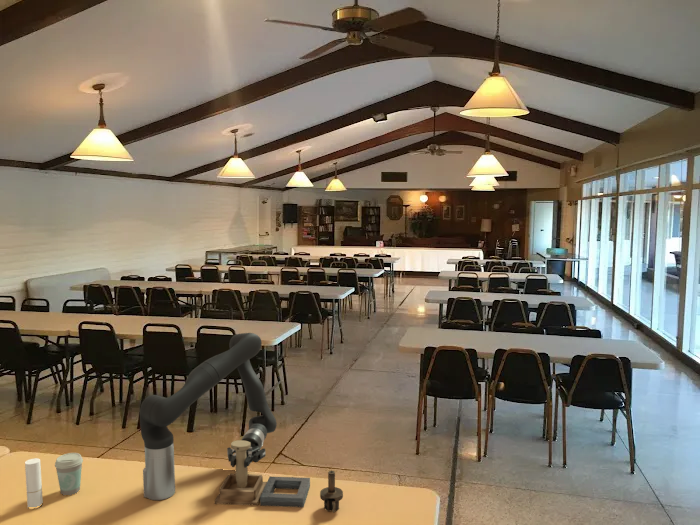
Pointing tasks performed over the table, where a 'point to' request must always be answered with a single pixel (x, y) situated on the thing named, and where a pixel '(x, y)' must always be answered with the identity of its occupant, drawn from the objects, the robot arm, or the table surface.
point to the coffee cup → (69, 472)
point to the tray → (241, 491)
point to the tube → (33, 482)
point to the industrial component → (331, 494)
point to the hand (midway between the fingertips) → (239, 464)
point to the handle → (241, 461)
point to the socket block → (285, 499)
